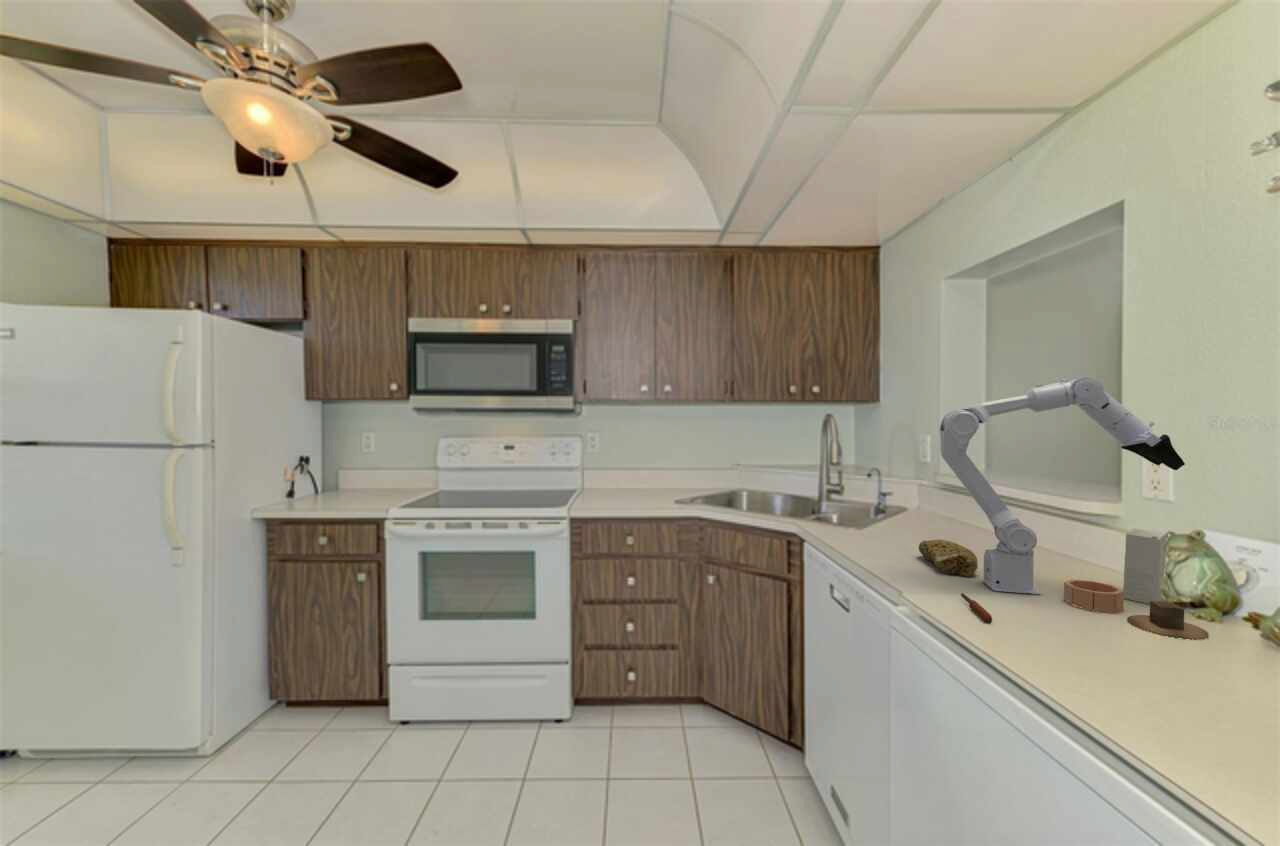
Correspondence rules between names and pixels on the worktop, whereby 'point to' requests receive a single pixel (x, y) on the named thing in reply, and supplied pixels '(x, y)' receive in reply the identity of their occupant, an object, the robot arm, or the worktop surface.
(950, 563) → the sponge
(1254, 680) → the worktop surface
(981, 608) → the red handled screwdriver
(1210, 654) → the worktop surface
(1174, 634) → the lid
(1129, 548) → the skincare box
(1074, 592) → the bowl
